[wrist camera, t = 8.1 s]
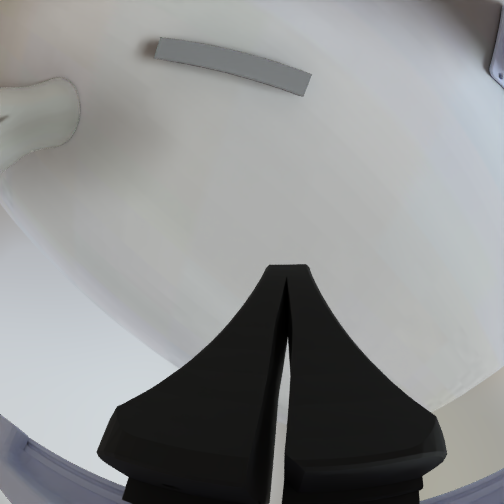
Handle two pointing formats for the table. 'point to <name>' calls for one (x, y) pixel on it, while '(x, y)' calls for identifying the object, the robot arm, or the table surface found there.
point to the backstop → (234, 64)
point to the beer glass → (36, 118)
